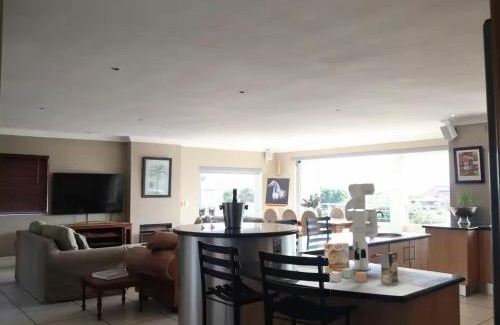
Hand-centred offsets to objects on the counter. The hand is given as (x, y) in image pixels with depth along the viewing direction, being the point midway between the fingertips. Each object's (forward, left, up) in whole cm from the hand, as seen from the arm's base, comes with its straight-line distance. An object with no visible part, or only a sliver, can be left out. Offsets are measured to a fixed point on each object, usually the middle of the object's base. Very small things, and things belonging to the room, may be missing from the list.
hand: (360, 259), depth 255 cm
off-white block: (+7, -13, -13) cm, 20 cm away
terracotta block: (0, 0, -13) cm, 13 cm away
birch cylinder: (-2, +15, -13) cm, 20 cm away
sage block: (-8, -12, -13) cm, 20 cm away
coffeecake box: (-18, -24, -13) cm, 33 cm away
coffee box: (-13, +13, -13) cm, 23 cm away
